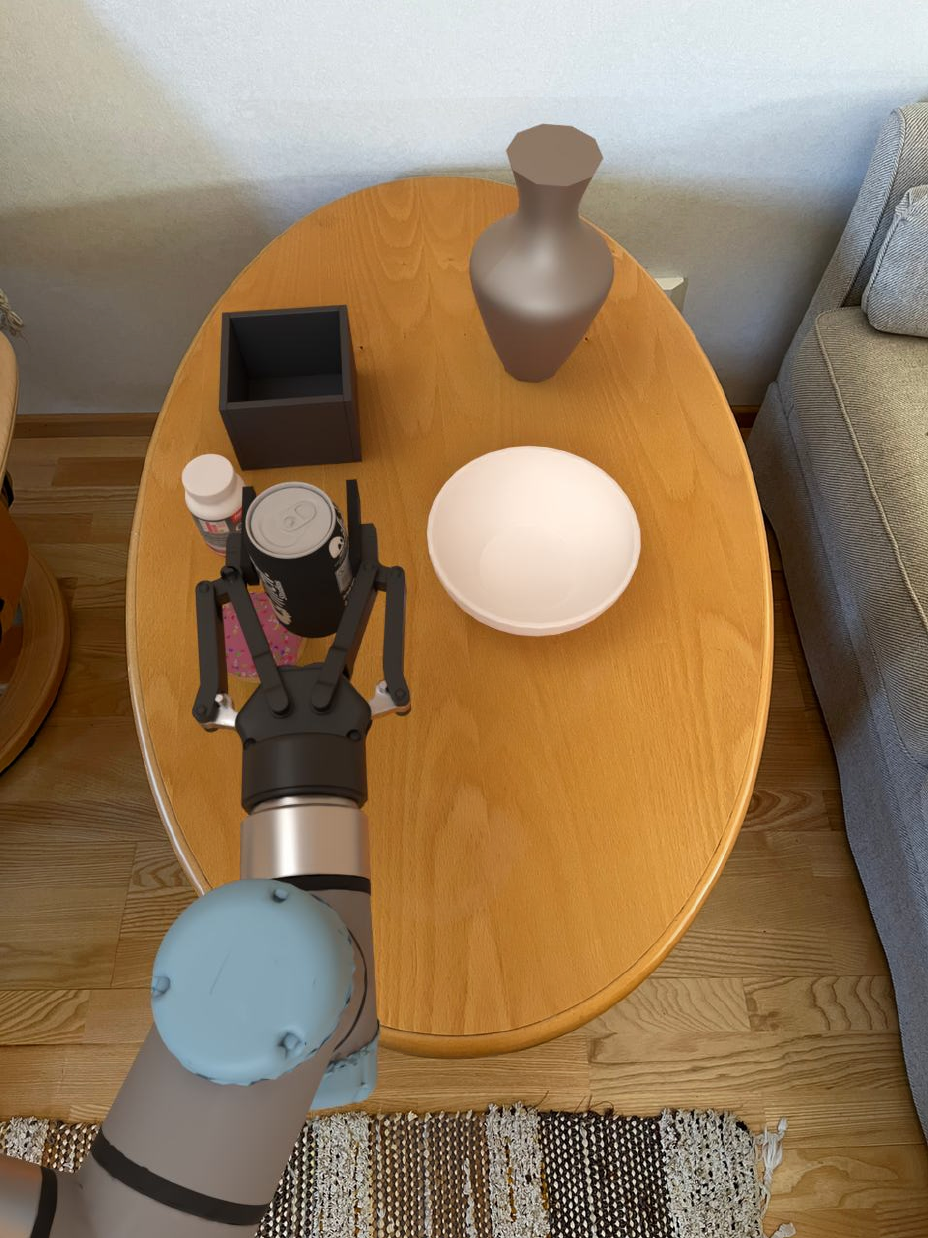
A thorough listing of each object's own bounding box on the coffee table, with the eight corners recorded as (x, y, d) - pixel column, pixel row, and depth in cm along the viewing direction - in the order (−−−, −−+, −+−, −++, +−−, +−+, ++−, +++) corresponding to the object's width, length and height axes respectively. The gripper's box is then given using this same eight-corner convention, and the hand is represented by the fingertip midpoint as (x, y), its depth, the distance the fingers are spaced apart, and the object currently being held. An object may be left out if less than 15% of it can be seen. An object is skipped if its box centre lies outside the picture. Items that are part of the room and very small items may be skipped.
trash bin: (241, 470, 88) (218, 409, 79) (243, 378, 93) (221, 312, 85) (361, 461, 88) (351, 400, 80) (356, 370, 94) (346, 303, 85)
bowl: (652, 638, 80) (670, 604, 73) (451, 679, 78) (451, 647, 71) (594, 473, 88) (605, 429, 82) (412, 506, 86) (408, 463, 80)
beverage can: (257, 603, 64) (217, 517, 53) (323, 551, 66) (297, 458, 55) (313, 659, 62) (283, 581, 51) (379, 604, 64) (363, 518, 53)
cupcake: (325, 681, 77) (304, 624, 67) (235, 713, 76) (199, 660, 65) (298, 604, 81) (274, 538, 70) (212, 633, 79) (174, 570, 69)
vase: (596, 319, 98) (639, 107, 75) (592, 416, 91) (636, 216, 69) (473, 308, 98) (479, 94, 76) (460, 404, 92) (463, 201, 70)
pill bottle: (258, 558, 83) (235, 501, 74) (201, 558, 83) (170, 501, 74) (264, 509, 86) (242, 448, 77) (208, 509, 86) (179, 449, 77)
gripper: (160, 840, 53) (180, 531, 63) (466, 812, 54) (438, 513, 64) (117, 812, 46) (148, 471, 56) (468, 781, 47) (436, 452, 57)
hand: (302, 494), depth 60 cm, fingers closed on beverage can, 7 cm apart
